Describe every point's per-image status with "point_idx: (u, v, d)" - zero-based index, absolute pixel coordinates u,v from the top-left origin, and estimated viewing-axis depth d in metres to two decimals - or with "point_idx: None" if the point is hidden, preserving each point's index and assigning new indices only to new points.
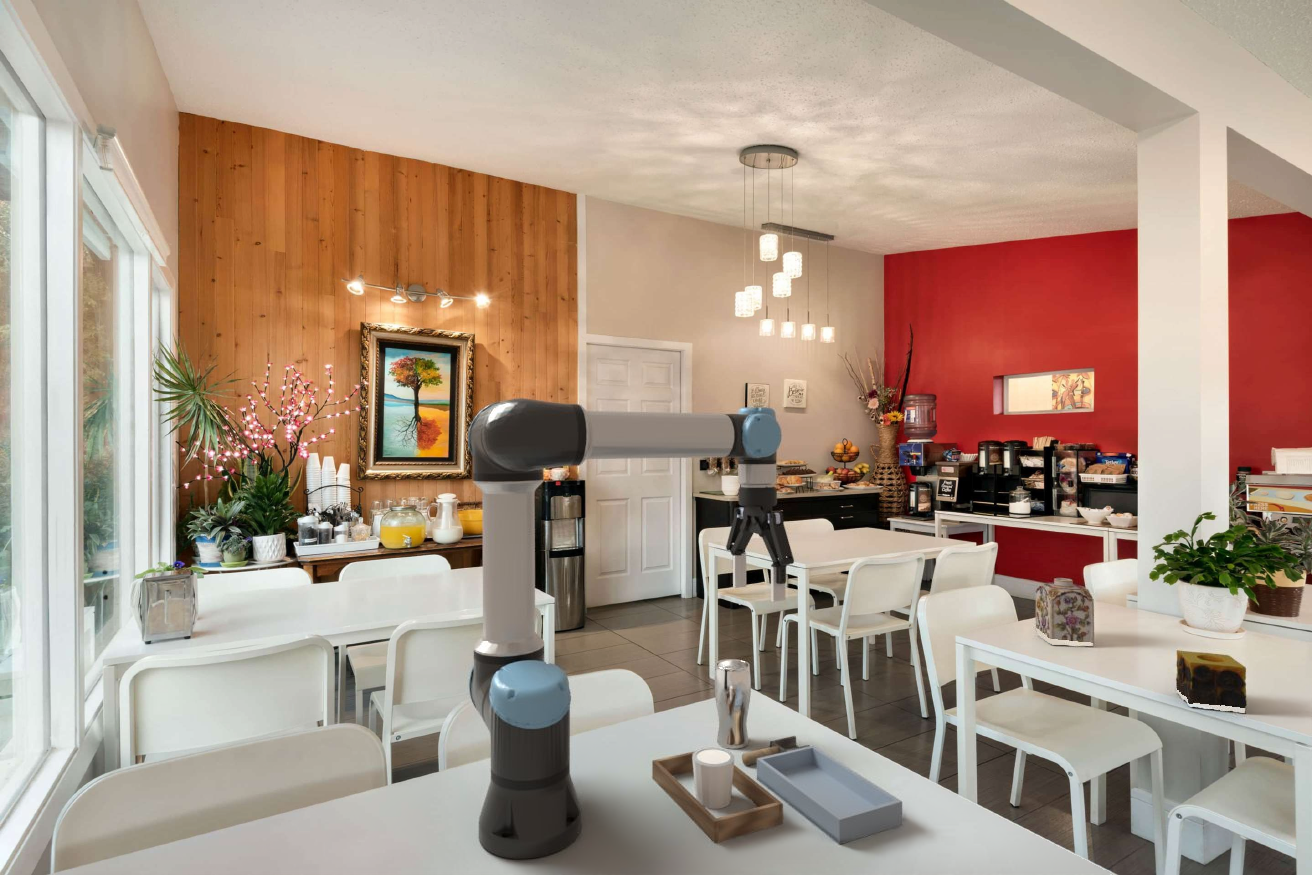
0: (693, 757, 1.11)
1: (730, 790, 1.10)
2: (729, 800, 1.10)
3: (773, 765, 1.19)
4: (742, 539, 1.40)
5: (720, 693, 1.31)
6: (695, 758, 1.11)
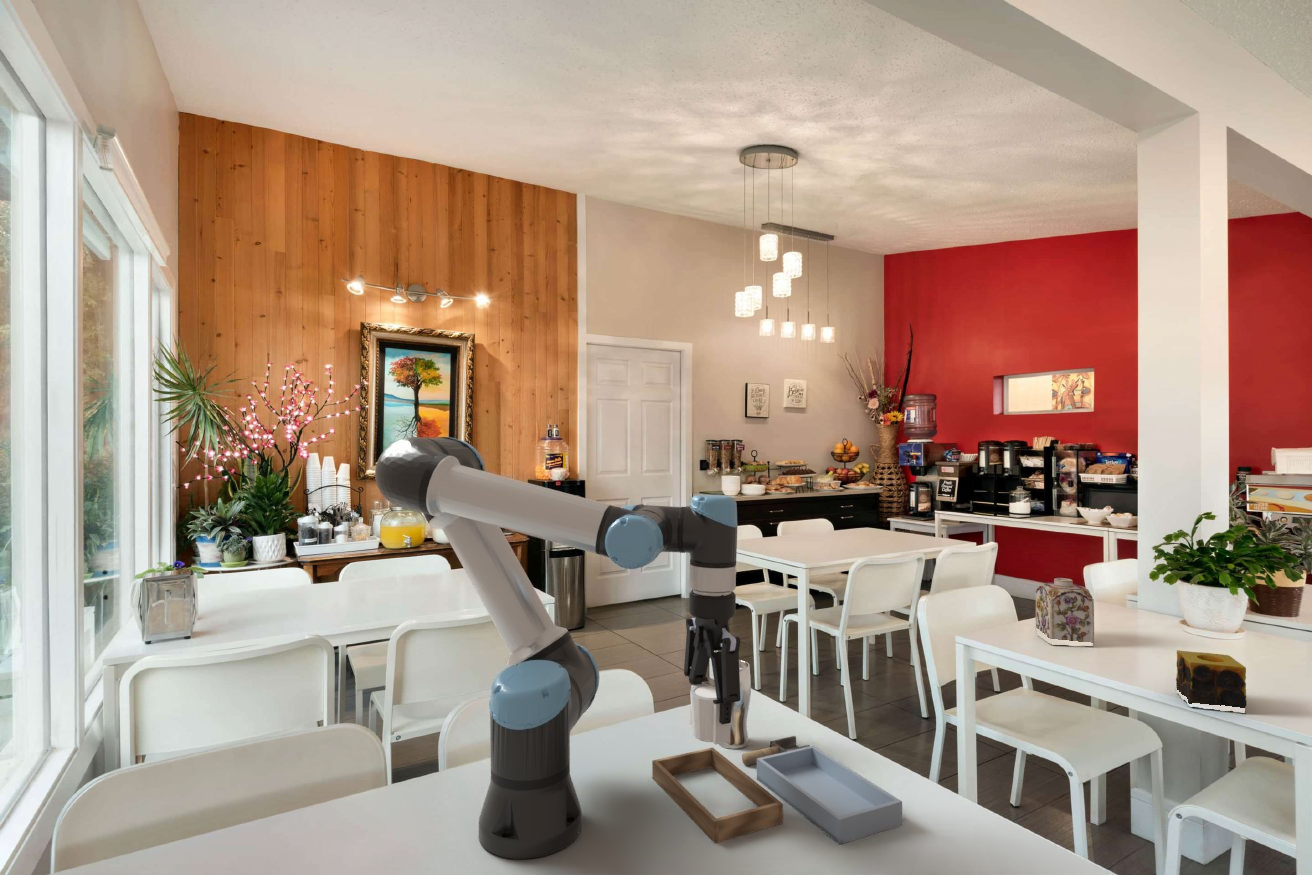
0: (691, 692, 1.12)
1: None
2: None
3: (773, 765, 1.19)
4: (699, 659, 1.14)
5: None
6: (693, 693, 1.11)
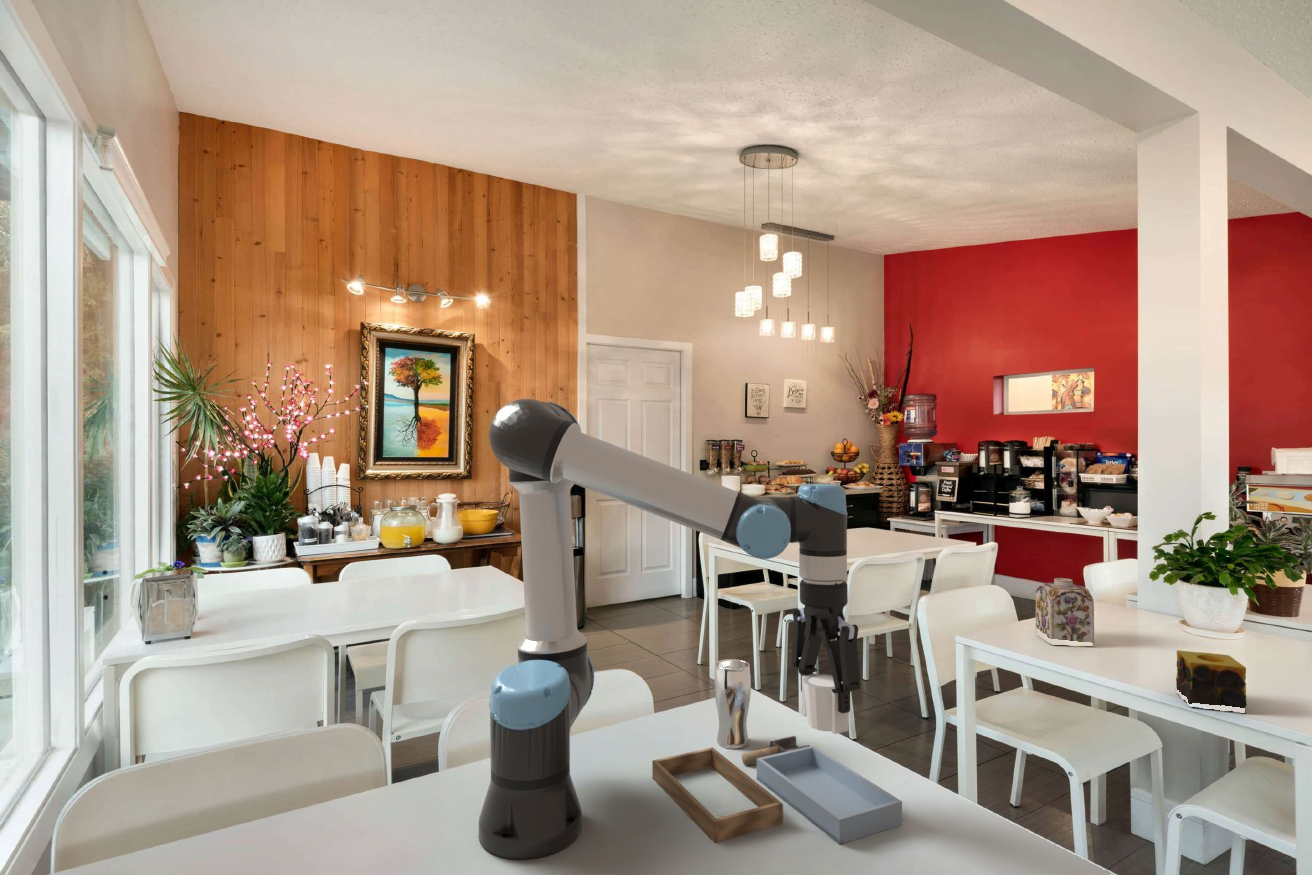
0: (805, 681, 1.11)
1: None
2: None
3: (773, 765, 1.19)
4: (810, 650, 1.13)
5: (720, 693, 1.31)
6: (807, 682, 1.11)
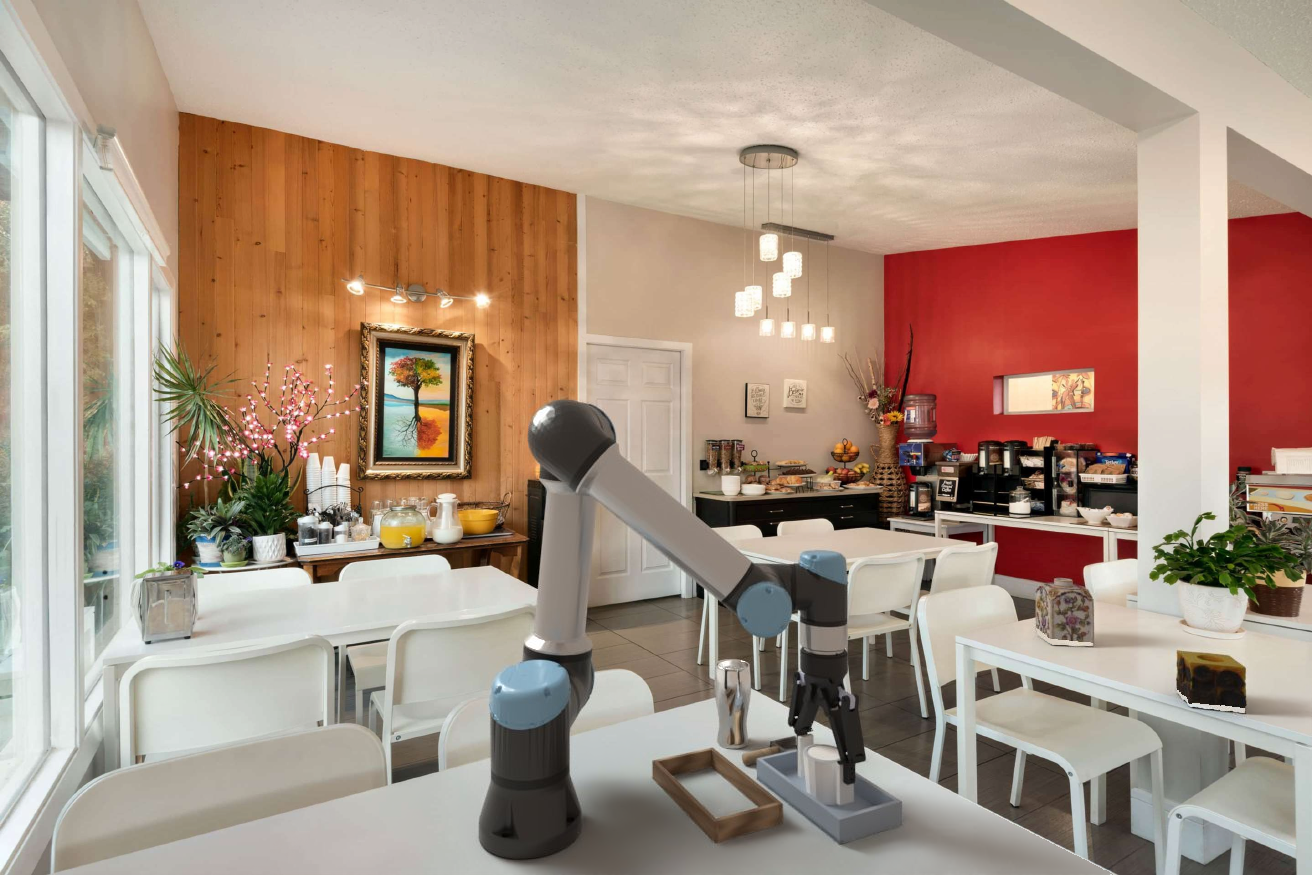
0: (804, 753, 1.11)
1: None
2: None
3: (773, 765, 1.19)
4: (807, 714, 1.14)
5: (720, 693, 1.31)
6: (807, 754, 1.11)
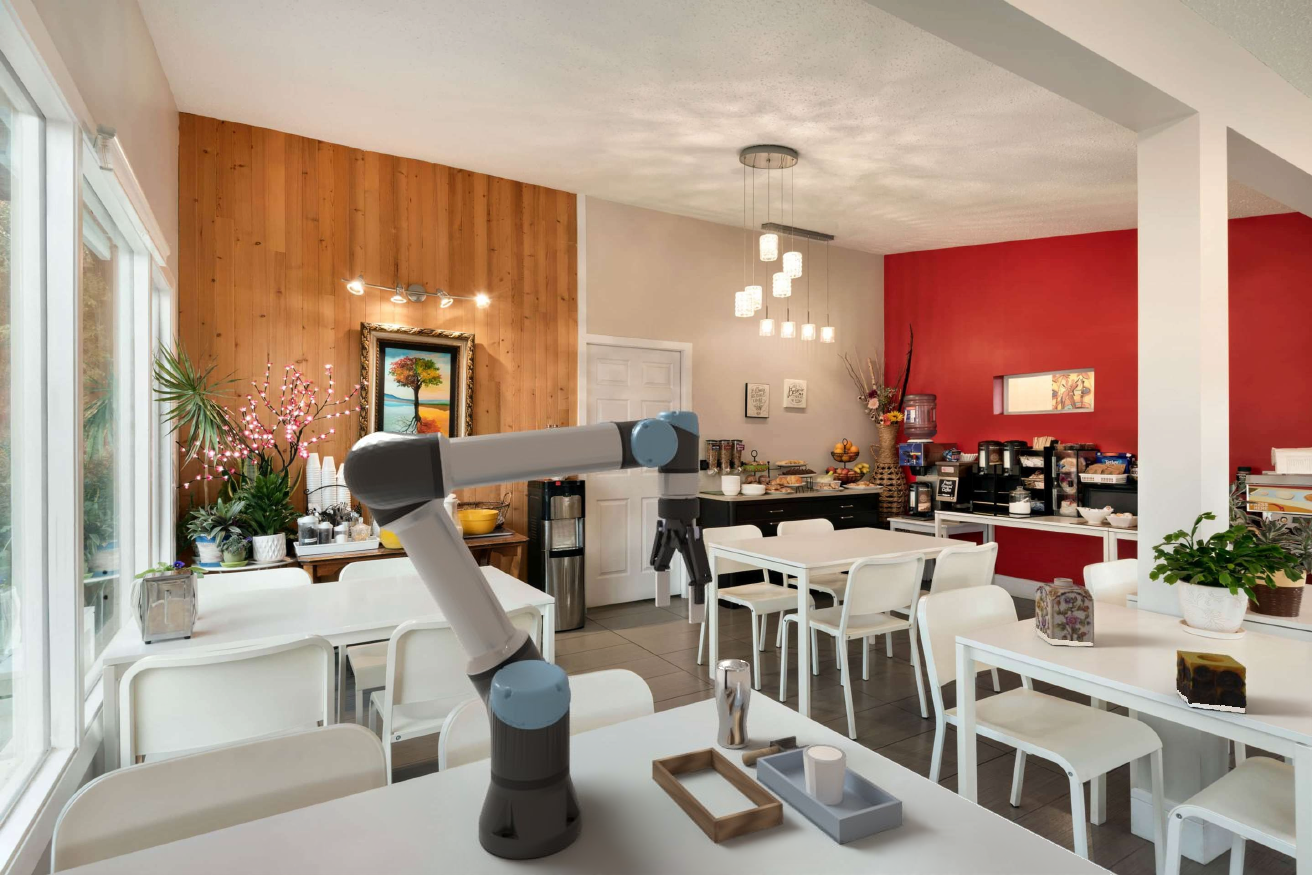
0: (804, 753, 1.11)
1: (843, 786, 1.10)
2: (842, 796, 1.10)
3: (773, 765, 1.19)
4: (664, 554, 1.29)
5: (720, 693, 1.31)
6: (807, 754, 1.11)
